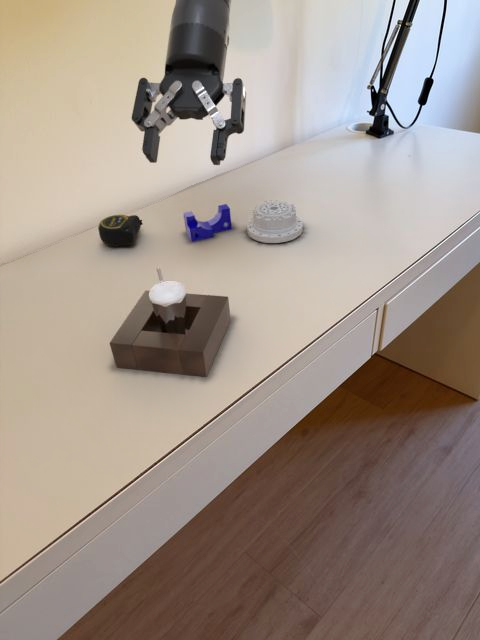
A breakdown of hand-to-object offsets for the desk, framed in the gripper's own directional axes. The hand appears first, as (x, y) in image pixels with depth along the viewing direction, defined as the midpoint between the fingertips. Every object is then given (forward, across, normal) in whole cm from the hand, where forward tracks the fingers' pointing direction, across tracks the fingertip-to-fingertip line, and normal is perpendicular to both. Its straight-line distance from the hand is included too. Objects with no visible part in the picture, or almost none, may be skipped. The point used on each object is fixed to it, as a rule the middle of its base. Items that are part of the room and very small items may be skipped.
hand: (182, 161), depth 66 cm
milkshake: (+22, 0, +6) cm, 23 cm away
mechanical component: (-1, +7, +30) cm, 31 cm away
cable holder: (0, -4, +28) cm, 29 cm away
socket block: (+22, 0, +6) cm, 23 cm away
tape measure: (+3, -19, +25) cm, 32 cm away
